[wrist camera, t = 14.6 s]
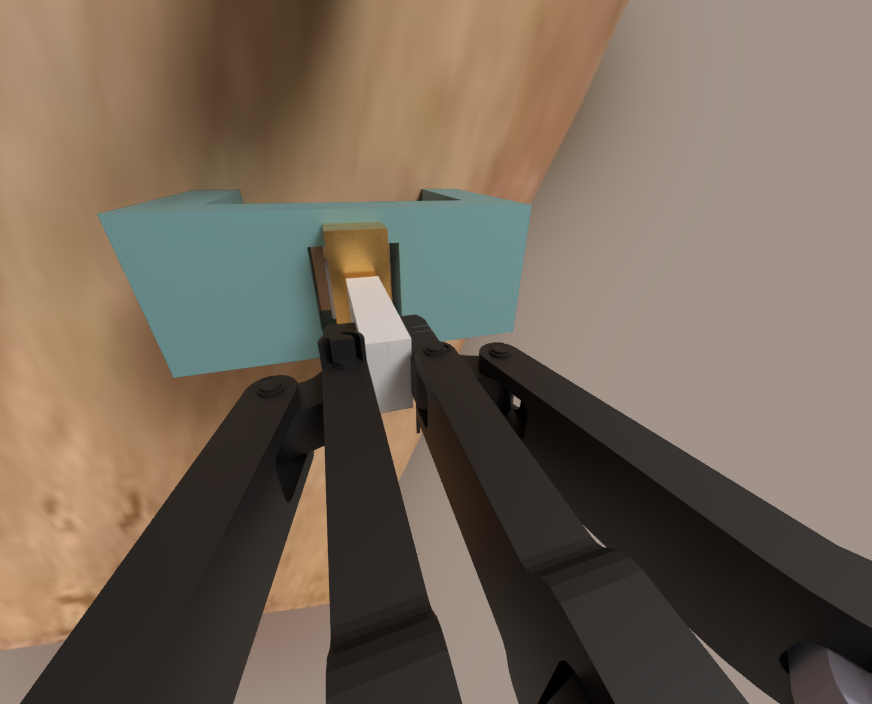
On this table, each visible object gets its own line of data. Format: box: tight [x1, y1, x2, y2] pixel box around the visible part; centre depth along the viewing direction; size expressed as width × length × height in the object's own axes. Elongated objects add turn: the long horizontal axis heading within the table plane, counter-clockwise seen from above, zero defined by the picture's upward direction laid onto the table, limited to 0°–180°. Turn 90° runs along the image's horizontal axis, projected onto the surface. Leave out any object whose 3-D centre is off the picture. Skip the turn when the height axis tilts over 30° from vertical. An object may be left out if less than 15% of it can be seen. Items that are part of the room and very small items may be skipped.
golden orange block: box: [323, 222, 391, 324], centre depth 22 cm, size 3×7×14 cm, turn 0°
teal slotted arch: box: [97, 189, 532, 378], centre depth 23 cm, size 20×8×12 cm, turn 90°
